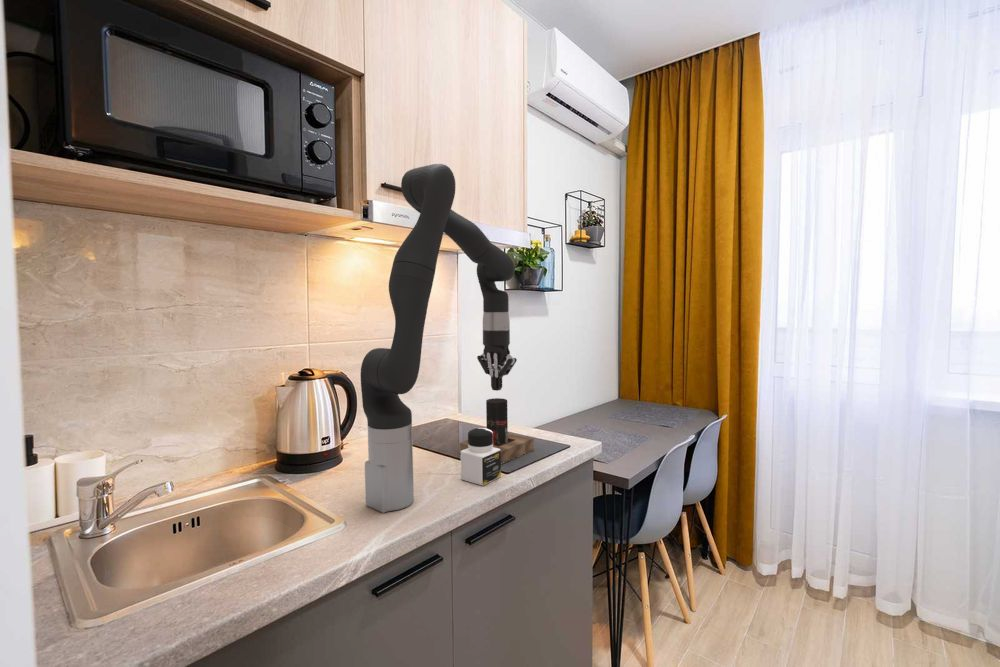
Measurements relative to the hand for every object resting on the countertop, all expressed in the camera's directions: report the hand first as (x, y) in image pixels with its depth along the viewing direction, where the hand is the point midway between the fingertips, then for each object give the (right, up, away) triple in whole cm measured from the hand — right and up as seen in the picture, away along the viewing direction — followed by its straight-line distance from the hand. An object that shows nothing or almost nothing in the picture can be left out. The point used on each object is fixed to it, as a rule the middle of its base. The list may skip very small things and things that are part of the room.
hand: (496, 389), depth 132 cm
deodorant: (0, -18, +1) cm, 18 cm away
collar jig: (0, -18, +1) cm, 18 cm away
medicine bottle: (-4, -20, -17) cm, 26 cm away
